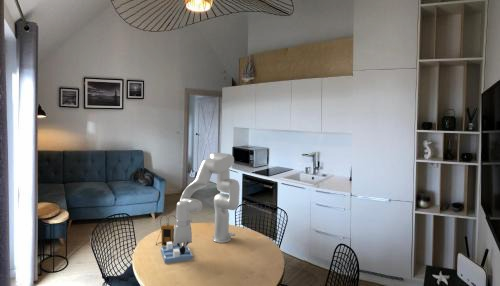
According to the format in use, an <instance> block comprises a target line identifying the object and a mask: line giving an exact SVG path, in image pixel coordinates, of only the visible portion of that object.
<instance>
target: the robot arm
mask: <svg viewBox="0 0 500 286" xmlns="http://www.w3.org/2000/svg"><path fill="white" fill-rule="evenodd" d="M234 163H235V157H234V156H233V155H232V154H230V153H226V152H212V153H210V155H209V159H208V158H206V159H203V161H202V162H201V164H200V166H199V169H198V171H197V173H196V175H195V179H194V180H193V182H190V184H188V185H187V186H186V188H185V189H184V190H183V192H182V194H181V196H180V199H179V201H178V202H177V203H176V212H175V213H176V214H175V215H176V218H175V219H176V220H175V222H176V223H175V224H174V236H173V240H174V242H173V245H178V246H179V247H180V253H181V254H184V252H185V247H186V246H188V245H189V244H191V243H193V241H192V240H193V234H192V233H193V232H192V226H191V223H192V222H193V220H192V219H191V218H190V215H191V214H192V213H193V214H194V213H198V212H200V211H201V210H202V208H203V202H202V201H201V200H200V199H197V198H192V196H193V194H194V193H195V192H196V191H198V190H201V189H203V188H206V187H207V186H208V185H209V184H210V180H211V178H212V174H215V175H216V189H217V191H219V193H217V194H216V195H214V197H213V205H214V236H212V238H211V240H212V241H213V242H215V243H223V244H225V243H227V242H228V243H229V242H230V241H231V240H232V238H231V237H236V232H230V231H229V230H230V223H229V222H230V212H229V210H230V211H235V210H237V209H238V207H239V205H240V192H241V191H240V186H241V185H240V183H239V181H238V180H237V179H233V178H231V177H230V175H231V174H230V168H231V167H232V166H233V165H234ZM220 192H221V193H220ZM182 244H183V246H182Z"/></svg>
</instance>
